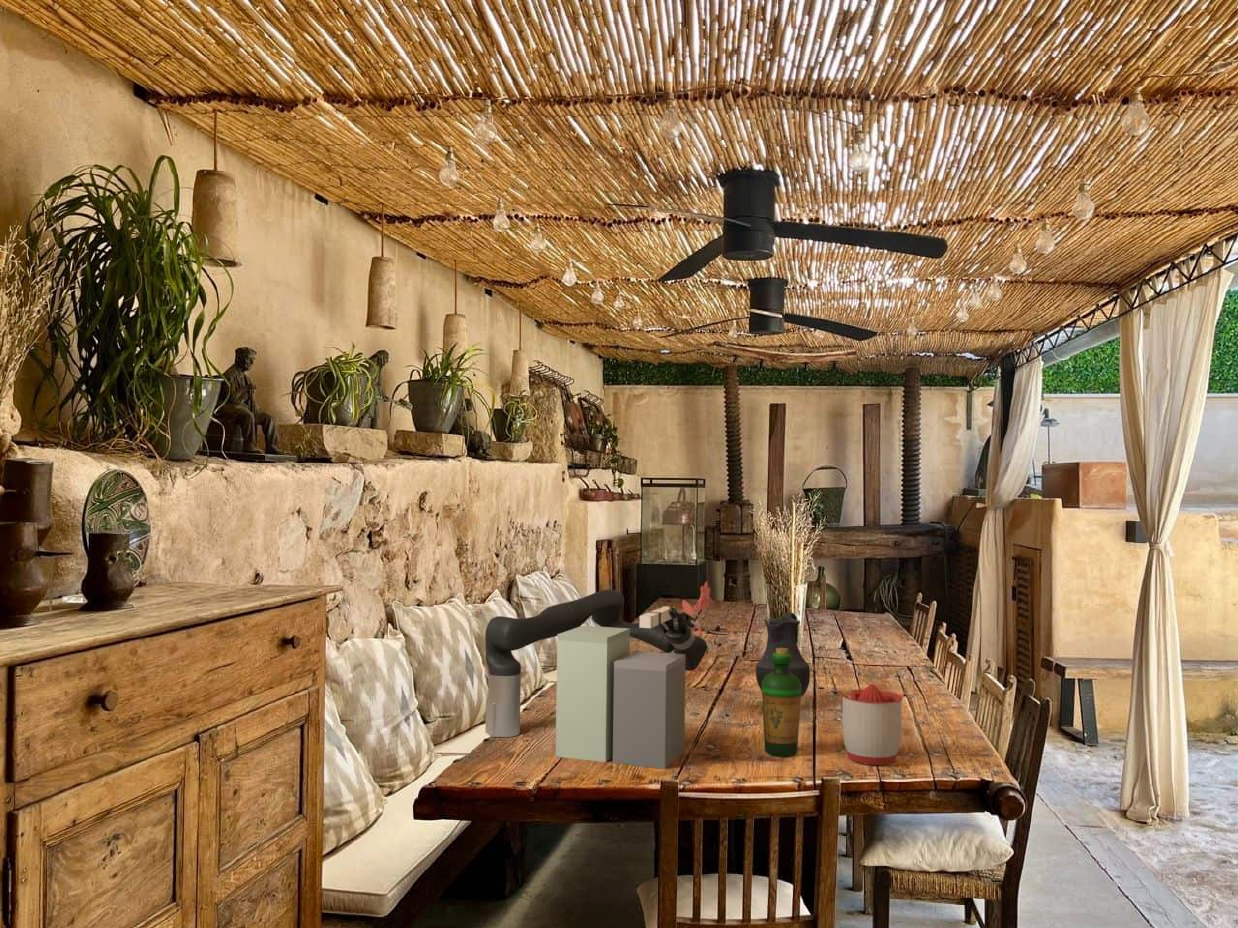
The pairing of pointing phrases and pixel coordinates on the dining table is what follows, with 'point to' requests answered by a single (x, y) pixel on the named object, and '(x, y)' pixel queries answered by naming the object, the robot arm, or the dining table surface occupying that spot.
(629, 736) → the block
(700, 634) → the pink translucent sprig
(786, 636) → the pitcher
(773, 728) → the bottle
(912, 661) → the dining table surface
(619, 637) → the sage green tall pillar
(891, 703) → the citrus juicer
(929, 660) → the dining table surface
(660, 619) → the pale wooden bar
